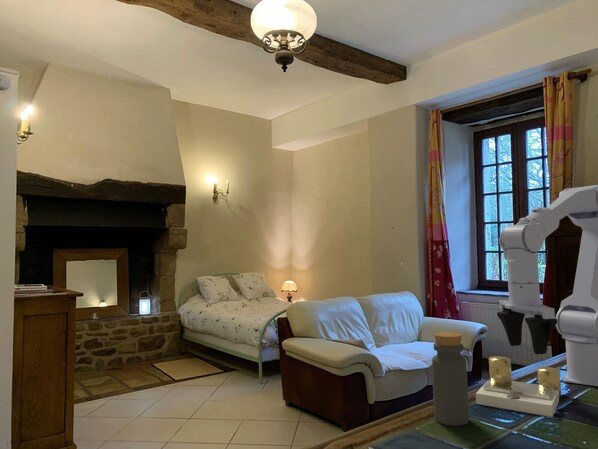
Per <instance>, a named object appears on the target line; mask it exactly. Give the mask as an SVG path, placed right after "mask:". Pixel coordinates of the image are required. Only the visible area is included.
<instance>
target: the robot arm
mask: <svg viewBox="0 0 598 449" xmlns="http://www.w3.org/2000/svg"><path fill="white" fill-rule="evenodd" d="M565 217H568V218H569V219H570V220H571V221H570V222H572V223H573V224H574V225H575V226H577V227H579V228H581V230H582V233H581V239H580V245H579V246H580V247H579V253H578V258H577V265H576V272H575V277H574V284H573V291H572V294H571V295H569V296H567V297H566V298H565V299H563V300H561V302H560V305H559V306H560V307H559V309H558V311H557V313H556V314H555V307H554V308H553V307H550V306H547V305H544V304H542V303H541V295H540V294H541V292H540V277H539V274H540V272H539V262H538V261H539V259H538V258H539V257H538V251H541V249H543V248H542V247H543V245H544V241H545V240H546V238H547V237H548V236H549V235H551V234H552V233H553V232H554V231H556V230H557V229H558V228H559V226H560V220H562V219H563V218H565ZM498 242H499V243H498V244H499V245H500V248H501V250H502V252H503V258H504V260H505V261H506V269H507V284H508V285H507V288H508V299H502V300H501V299H500V300H498V301H499V302H498V303H499V305H498V306H499V310H501V311H497V312H496V315H497V317H498V318H499V320H500V322H501V325H502V326H503V328H504V330H505V334H506V337H507V339H508V342H509V346H511V347H517V346H521V345H522V336H523V332H522V331H523V323H524V321H525V322H526V325H527V327H528V330H529V333H530V336H531V337H530V338H531V343H532V344H531V345H532V350H533V353H534V354H535V355H546V354H547V351H548V346H549V341H550V338H551V336H552V333H553V331H554V328H556V330H557V332H558V333H559V334H560V335H561V338H562V339H565V350H566V351H565V353H566V354H565V357H566V370H567V371H566V374H565V376H564V379H563V382H564V383H571V384H579V385H585V386H586V385H587V386H593V387H598V184H594V185H586V186H578V187H567V188H564V189H563V190H561V191H560V192H559V194H558V197H557V199H555V200H554V201H553V202H552V203H551V204H549V206H547V207H541V206H537V207H534V208H532V209H531V213H529V214H528V215H527V216H525V217H521V218H519V220H518V222H517V223H516V224H511V225H510V224H509V225H506V226H505V227H504V228H503V229H502V231H501V233H500V235H499V238H498ZM526 315H530V316H532V317H525V316H526Z"/></svg>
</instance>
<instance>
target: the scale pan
mask: <svg viewBox="0 0 598 449" xmlns="http://www.w3.org/2000/svg"><path fill="white" fill-rule="evenodd" d="M487 381H488V380H487ZM487 381H486V382H487ZM486 382H485V383H486ZM485 383H484V384H485ZM484 384H483V385H484ZM483 385H482V386H483ZM483 390H490V391H496V392H502V393H509V394H515V395H522V396H528V397H535V398H541V399H548V400H550V398H551V396H552V394H553V392H554V387H552V386H545V385H538V384H537V383H530V382H523V381H516V380H512V385H511V386H508V387H500V386H495V385H492V384H491V383H490V379H489V381H488V382H487V383H486V384H485V385H484V386H483Z"/></svg>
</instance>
